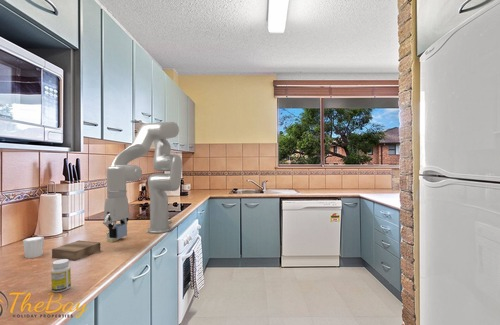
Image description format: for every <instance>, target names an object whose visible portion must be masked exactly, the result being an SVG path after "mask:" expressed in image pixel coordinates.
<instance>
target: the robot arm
mask: <svg viewBox="0 0 500 325" xmlns="http://www.w3.org/2000/svg"><path fill="white" fill-rule="evenodd" d="M179 132H180V127H179V125H178V123H177V122H174V121H163V122H162V121H161V122H160V121H158V122H147V123H143V124H141V125H140V127H139V129H138V130H137V133H136V134H135V136H134V139H133V141H132V142H131V144H130V145H129V146H128V147H126V148H125V149H123V150H122V151H121V152H120V153H118V154H117V155H116V156H115V158H114V160H112V163H111V164H110V166H108V167H106V194H107V195H106V197H107V198H105V201H104V207H103V209H104V210H103V219H104V220H103V222H102V224H103V225H104V226H106V227H107V229H108V230H109V231H108V233H109V234H110V238H116V237H117V234H116V229H115V226H116V224H117V222H118V221H119V224H127V225H128V223H129V222H128V221H129V219H130V218H131V216H132V214H131V213H130V206H129V199H128V195H127V193H128V191H127V182H136V181H138V180H139V179H141V177H142V175H143V170H142V169H141V167H140V166H138V165H136V164H129V163H130V162H132V161H134V160H135V159H136V160H137V159H139V158H141V157H144V156H145V155H147V154H148V153H149V150H150V149H151V147H152V144H153V143H154V153H153V154H154V155H153V161H152V162H153V164H152V166H153V169H154V170H155V171H156V172H157V171H158V172H159V173H153V174H151V175H150V176H149V177H148V179H147V186H148V189H149V191H148V192H149V212H150V213H149V218H150V219H149V221H150V222H149V224H150V225H149V228H147V229H146V231H147V233H149V234H163V233H167V232H170V231H171V230H172V227H171V226H170V225H171V224H173V221H172V220H171V219H170V220H169V197H168V195H167V192H176V191H178V190H179V188H180V187H181V180H182V173H183V159H182V158H181V156H180V155H179V154H172V153H171V150H172V147H171V144H170V142H169V140H170V139H174V138H176V137H177V136H178V135H179ZM168 139H169V140H168ZM160 172H170V173H160Z"/></svg>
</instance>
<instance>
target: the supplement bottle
mask: <svg viewBox="0 0 500 325" xmlns="http://www.w3.org/2000/svg"><path fill="white" fill-rule="evenodd" d="M50 271H51V272H50V274H51V275H50V276H51V291H52V293H61V292H65V291H68V290H70V288H71V285H72V282H71V281H72V278H71V276H72V275H71V274H72V273H71V265H70V260H68V259H57V260H54V261H53V262H52V269H51V270H50Z"/></svg>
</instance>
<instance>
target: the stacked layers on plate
mask: <svg viewBox="0 0 500 325" xmlns="http://www.w3.org/2000/svg"><path fill="white" fill-rule="evenodd" d="M106 232H107V233H106V234H105V235H106V238H105V239H106V242H108V243H116V242H118V241H119V239H115V238H109V229H108V230H106Z"/></svg>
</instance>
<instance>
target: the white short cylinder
mask: <svg viewBox="0 0 500 325" xmlns="http://www.w3.org/2000/svg"><path fill="white" fill-rule="evenodd" d="M22 244H23V252H24V257H25V259H33V258H37V257H40V256H43V253H44V252H43V250H44V244H45V237H44V236H33V237H28V238H25V239H23V240H22Z"/></svg>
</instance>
